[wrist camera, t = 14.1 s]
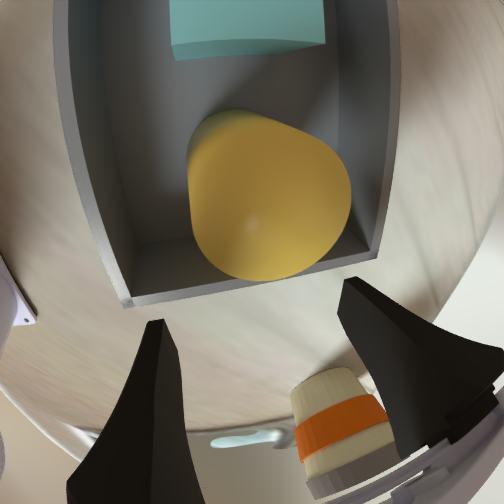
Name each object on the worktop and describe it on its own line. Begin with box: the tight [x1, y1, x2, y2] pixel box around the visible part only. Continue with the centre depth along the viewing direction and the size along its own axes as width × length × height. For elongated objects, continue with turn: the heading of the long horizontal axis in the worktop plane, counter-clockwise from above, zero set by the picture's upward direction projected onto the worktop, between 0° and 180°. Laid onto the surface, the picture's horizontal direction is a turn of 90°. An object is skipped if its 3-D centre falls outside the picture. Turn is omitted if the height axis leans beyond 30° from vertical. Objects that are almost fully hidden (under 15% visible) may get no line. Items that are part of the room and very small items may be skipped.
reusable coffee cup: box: [290, 367, 410, 500], centre depth 27 cm, size 13×13×15 cm
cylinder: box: [186, 109, 351, 281], centre depth 11 cm, size 5×5×7 cm
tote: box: [53, 0, 401, 309], centre depth 10 cm, size 17×13×5 cm
